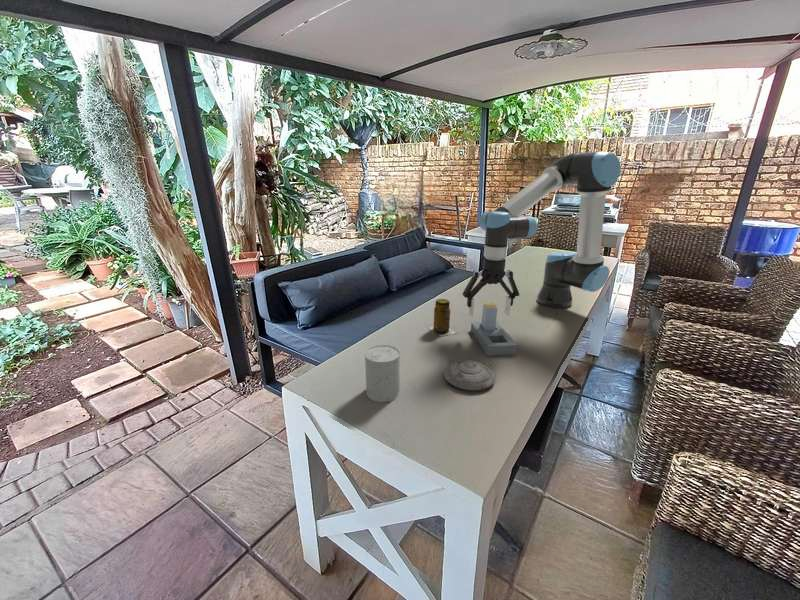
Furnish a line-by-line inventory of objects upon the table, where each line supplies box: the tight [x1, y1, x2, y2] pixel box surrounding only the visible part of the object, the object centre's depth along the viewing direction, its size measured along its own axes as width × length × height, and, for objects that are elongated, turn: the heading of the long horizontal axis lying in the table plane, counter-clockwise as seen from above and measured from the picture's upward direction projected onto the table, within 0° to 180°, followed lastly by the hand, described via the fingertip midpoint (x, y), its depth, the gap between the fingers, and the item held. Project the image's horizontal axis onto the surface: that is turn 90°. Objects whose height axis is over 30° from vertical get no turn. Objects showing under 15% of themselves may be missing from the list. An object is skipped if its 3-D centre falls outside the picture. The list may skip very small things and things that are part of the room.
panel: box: [470, 320, 518, 357], centre depth 132 cm, size 10×20×4 cm, turn 6°
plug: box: [481, 301, 498, 330], centre depth 135 cm, size 4×4×12 cm
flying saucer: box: [443, 359, 496, 391], centre depth 109 cm, size 15×15×6 cm
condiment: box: [428, 298, 457, 337], centre depth 140 cm, size 7×8×12 cm
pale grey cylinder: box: [364, 344, 401, 403], centre depth 102 cm, size 10×10×12 cm
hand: (488, 314), depth 134 cm, fingers open, 13 cm apart
